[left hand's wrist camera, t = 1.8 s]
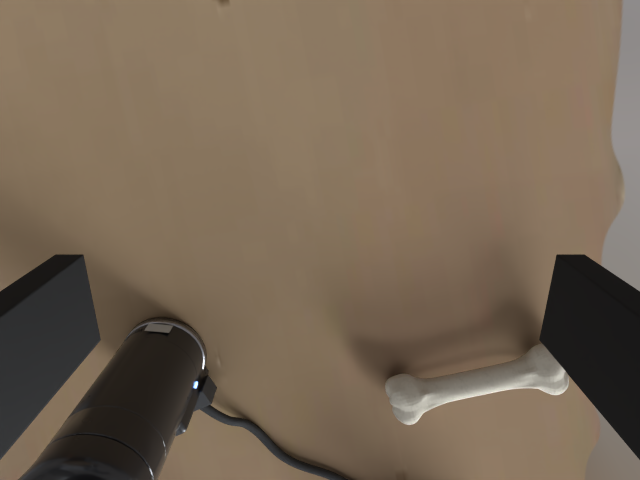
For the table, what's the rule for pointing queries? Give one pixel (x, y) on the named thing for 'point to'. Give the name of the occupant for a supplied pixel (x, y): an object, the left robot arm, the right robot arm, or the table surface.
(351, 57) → the table surface
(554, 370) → the dog toy
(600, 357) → the left robot arm
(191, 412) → the right robot arm
